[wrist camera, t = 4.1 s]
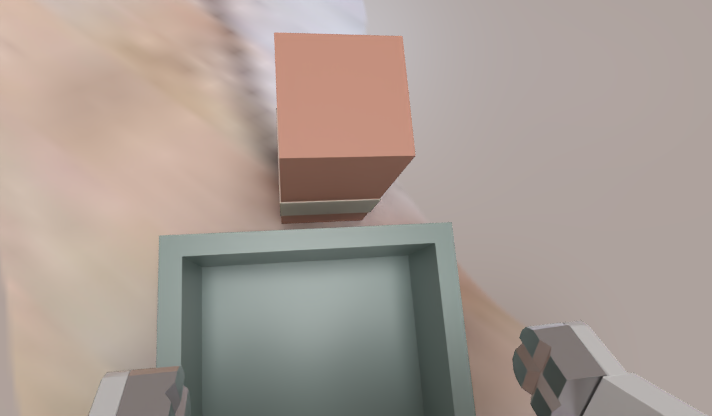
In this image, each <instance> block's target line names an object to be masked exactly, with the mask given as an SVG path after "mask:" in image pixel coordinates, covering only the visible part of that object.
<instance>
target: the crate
mask: <svg viewBox="0 0 712 416" xmlns="http://www.w3.org/2000/svg"><path fill="white" fill-rule="evenodd" d="M172 366H182V367H183V370H184V373H185V379H184V385H183V386H185V387H187V388H188V389H189V394H190V401H191V416H476V414H475V406H474V398H473V390H472V382H471V374H470V366H469V358H468V350H467V341H466V333H465V325H464V317H463V309H462V301H461V293H460V285H459V277H458V269H457V261H456V253H455V245H454V237H453V229H452V223H451V222H448V223H426V224H404V225H382V226H360V227H339V228H317V229H295V230H273V231H251V232H229V233H208V234H186V235H164V236H159V269H158V313H157V357H156V368H160V367H172Z"/></svg>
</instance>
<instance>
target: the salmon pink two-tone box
mask: <svg viewBox="0 0 712 416" xmlns="http://www.w3.org/2000/svg"><path fill="white" fill-rule="evenodd" d="M274 40H275V66H276V92H277V108H276V116H277V142H278V169H279V195H280V216H281V219H282V224H287V223H310V222H333V221H356V220H362V219H363V218H364V217H365V216H366V215H367V213H368V212H371V210H372V209H373V208H374V207H375V206H376V205H377V203H378V202H379V201H380V200H381V196H382V195H383V194H384V193H385V192H386V190H387V189H388V188H389V187H390V186H391V184H392V183H393V182H394V181H395V180H396V178H397V177H398V176H399V175H400V174H401V172H402V171H403V170H404V169H405V168H406V166H407V165H408V164H409V163H410V162H411V160H412V159H413V158H414V157H415V147H414V138H413V129H412V119H411V110H410V101H409V92H408V83H407V74H406V65H405V56H404V46H403V38H402V36H378V35H377V36H376V35H342V34H306V33H274Z"/></svg>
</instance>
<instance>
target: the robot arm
mask: <svg viewBox="0 0 712 416" xmlns="http://www.w3.org/2000/svg"><path fill="white" fill-rule="evenodd" d="M519 338H520V339H521V341H522V344H521V345H520V346H519V347H518V348H517V349H516V350H515V352H514V356H513V369H514V373H515V376H516V379H517V380H518V382H519V384H520V386H521V388H523V389H524V390H525V391H527V392H528V393H530V394H531V395H532V396H531V403H530V404H531V406H532V408H533V409H534V411H535V413H536V415H537V416H708V415H706V414H704V413H703V412H701V411H699V410H697V409H696V408H694V407H692V406H691V405H689V404H687V403H685V402H684V401H682V400H680V399H678V398H676V397H675V396H673V395H671V394H669V393H668V392H666V391H664V390H663V389H661V388H659V387H657V386H656V385H654V384H652V383H651V382H649V381H647V380H645V379H644V378H642V377H640V376H638V375H637V374H635V373H627V371H626V370H625V369H624V368H623V367H622V365H621V364H620V363H619V362H618V360H617V359H616V358H615V357H614V356H613V354H612V353H611V352H610V351H609V350H608V348H607V347H606V346H605V345H604V344H603V342H602V341H601V340H600V339H599V337H598V336H597V335H596V334H595V333H594V331H593V330H592V329H591V328H590V326H589V325H588V324H587V323H585V322H583V321H575V322H566V323H554V324H546V325H538V326H530V327H525V328H524V329H523V330H522V332H521V335H520V337H519ZM184 379H185V373H184V370H183V367H182V366H172V367H160V368H149V369H137V370H127V371H117V372H107V373H106V374H105V376H104V377H103V378H102V380H101V382H100V385H99V387H98V390H97V393H96V396H95V398H94V401H93V404H92V407H91V409H90V412H89V415H88V416H191V401H190V394H189V389H188V388H187V387H185V386H183V385H184Z"/></svg>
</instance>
